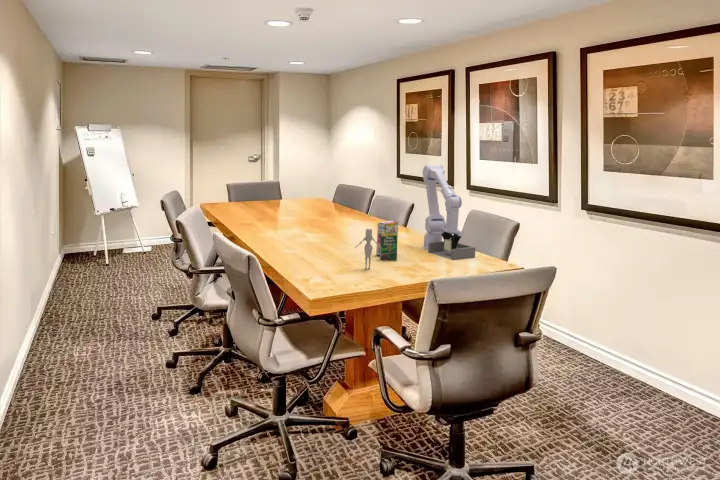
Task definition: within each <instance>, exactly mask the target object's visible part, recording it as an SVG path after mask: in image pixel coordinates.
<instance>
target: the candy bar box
mask: <svg viewBox="0 0 720 480" xmlns="http://www.w3.org/2000/svg"><path fill="white" fill-rule="evenodd" d="M381 232H385V233H392V232H397V239H398V234H399V221H395V220H386V221H380V222H379V221H378V222H377V233H376V236H377V237H376V242H377V243H378V244H379V245H380V233H381ZM379 245H377V244H376V252H375V255H376V256H378V257H380V246H379Z"/></svg>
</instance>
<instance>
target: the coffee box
mask: <svg viewBox="0 0 720 480" xmlns="http://www.w3.org/2000/svg"><path fill="white" fill-rule="evenodd" d="M380 246H381V247H380V256H379V259H380V261H397V260H398V238H397V232H392V233H385V232H381V233H380Z"/></svg>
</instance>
